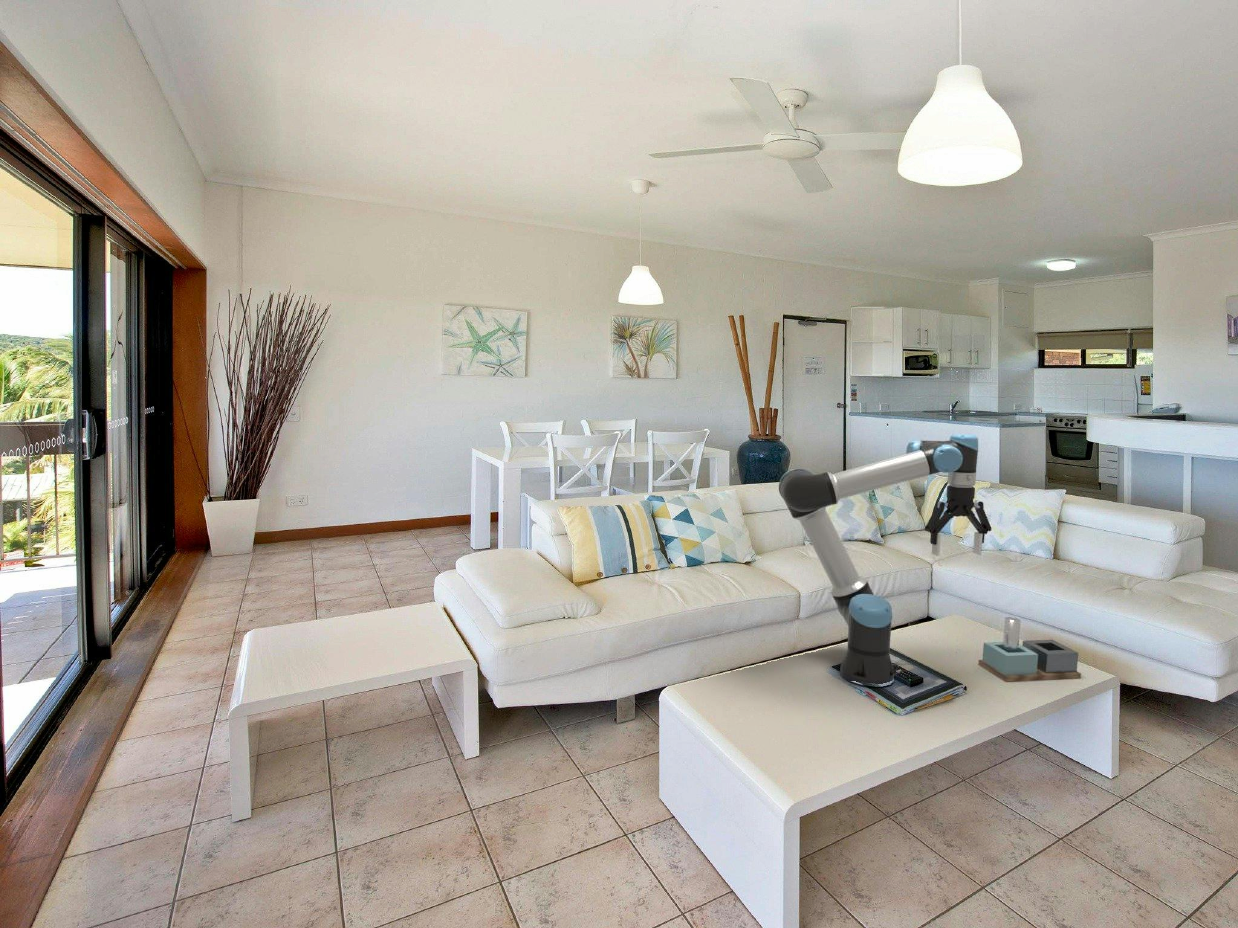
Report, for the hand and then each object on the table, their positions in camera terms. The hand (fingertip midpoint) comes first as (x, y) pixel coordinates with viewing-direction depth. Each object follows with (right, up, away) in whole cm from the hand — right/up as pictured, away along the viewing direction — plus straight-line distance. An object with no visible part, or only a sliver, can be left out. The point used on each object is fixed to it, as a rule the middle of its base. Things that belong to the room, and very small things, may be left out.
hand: (956, 554), depth 197 cm
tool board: (+21, -35, -1) cm, 41 cm away
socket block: (+28, -34, -1) cm, 44 cm away
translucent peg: (+15, -33, -2) cm, 36 cm away
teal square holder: (+15, -34, -2) cm, 37 cm away
